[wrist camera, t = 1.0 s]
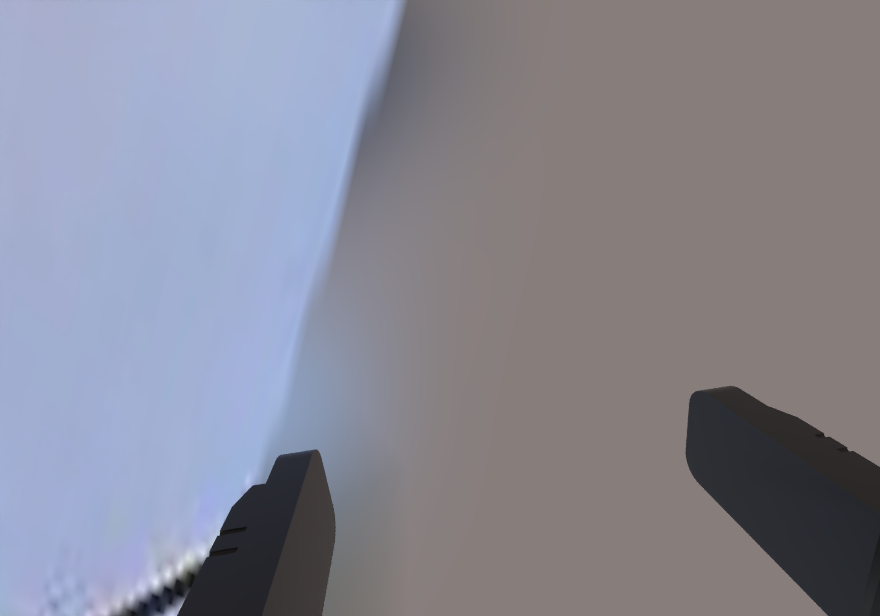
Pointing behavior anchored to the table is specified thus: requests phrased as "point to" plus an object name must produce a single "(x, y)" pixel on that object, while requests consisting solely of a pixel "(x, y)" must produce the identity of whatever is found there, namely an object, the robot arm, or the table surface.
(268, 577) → the robot arm
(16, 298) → the table surface
